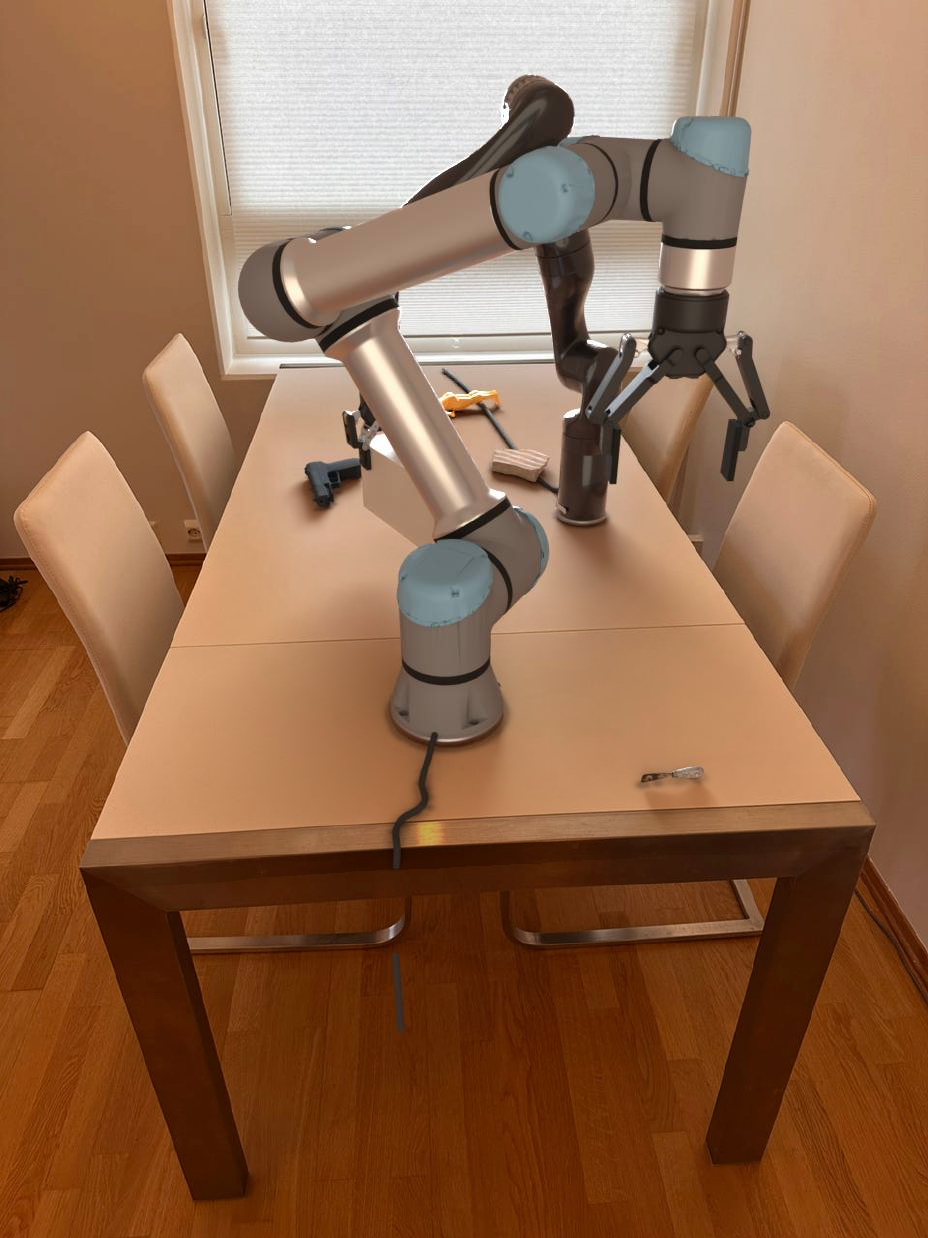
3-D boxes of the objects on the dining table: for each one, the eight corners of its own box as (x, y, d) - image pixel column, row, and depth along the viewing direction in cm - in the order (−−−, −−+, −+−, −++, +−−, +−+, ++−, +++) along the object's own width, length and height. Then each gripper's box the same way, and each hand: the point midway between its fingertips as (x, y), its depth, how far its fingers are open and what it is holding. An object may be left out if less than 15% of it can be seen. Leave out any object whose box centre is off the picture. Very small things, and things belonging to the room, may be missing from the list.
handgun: (373, 502, 179) (314, 510, 176) (359, 469, 193) (303, 475, 190) (373, 488, 177) (312, 495, 174) (358, 455, 191) (301, 461, 188)
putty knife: (703, 777, 109) (705, 767, 109) (642, 788, 108) (644, 777, 107) (700, 772, 110) (702, 762, 109) (639, 782, 109) (640, 771, 108)
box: (475, 555, 144) (475, 483, 137) (442, 565, 141) (441, 492, 134) (393, 498, 163) (390, 432, 156) (363, 506, 160) (358, 439, 153)
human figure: (395, 413, 223) (394, 398, 221) (438, 390, 237) (438, 375, 235) (462, 429, 215) (462, 413, 213) (502, 404, 229) (503, 388, 227)
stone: (554, 462, 195) (554, 451, 194) (536, 482, 186) (537, 471, 185) (499, 454, 200) (499, 444, 198) (479, 474, 190) (479, 463, 189)
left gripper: (798, 277, 96) (764, 463, 107) (567, 281, 95) (557, 468, 106) (825, 293, 90) (786, 488, 101) (579, 297, 89) (567, 494, 100)
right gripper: (410, 357, 152) (413, 451, 160) (331, 369, 146) (338, 465, 155) (430, 369, 146) (432, 465, 155) (348, 381, 140) (355, 480, 149)
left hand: (669, 478), depth 104 cm, fingers open, 13 cm apart
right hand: (385, 464), depth 155 cm, fingers closed on box, 6 cm apart
